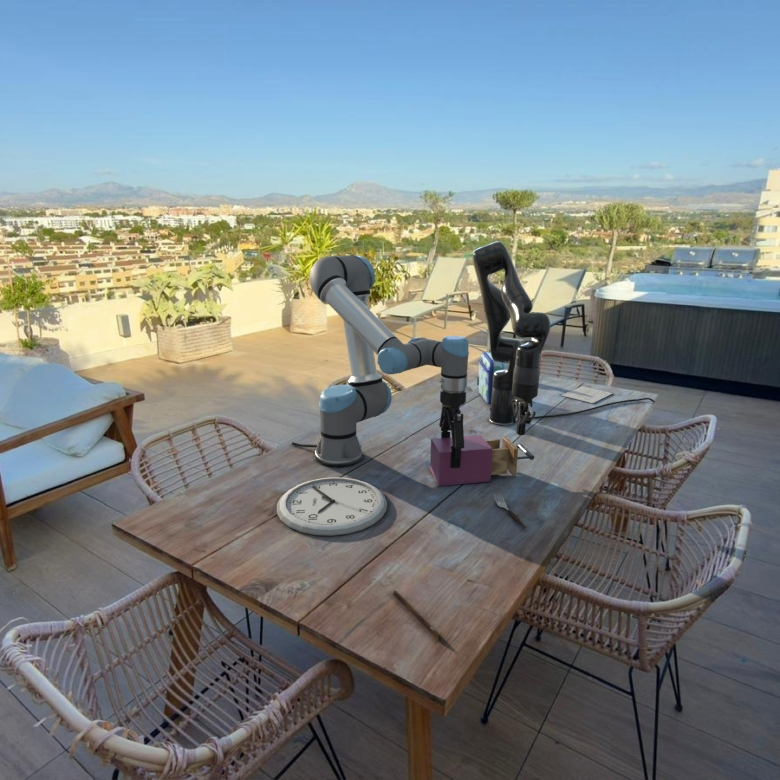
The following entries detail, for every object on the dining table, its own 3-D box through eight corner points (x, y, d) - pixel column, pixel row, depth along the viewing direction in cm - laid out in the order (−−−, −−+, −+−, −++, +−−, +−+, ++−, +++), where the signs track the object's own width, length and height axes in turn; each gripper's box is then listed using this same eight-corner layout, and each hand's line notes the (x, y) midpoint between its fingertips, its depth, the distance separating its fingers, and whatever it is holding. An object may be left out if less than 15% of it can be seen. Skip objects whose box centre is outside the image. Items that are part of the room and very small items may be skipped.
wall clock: (392, 527, 129) (268, 531, 127) (391, 533, 130) (269, 537, 127) (383, 473, 158) (282, 475, 155) (383, 478, 158) (282, 480, 156)
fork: (520, 530, 132) (521, 523, 132) (492, 499, 147) (492, 493, 146) (529, 529, 133) (530, 522, 132) (500, 498, 147) (501, 492, 147)
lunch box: (475, 390, 246) (478, 346, 240) (498, 390, 246) (501, 347, 240) (484, 408, 221) (487, 360, 215) (509, 409, 221) (513, 360, 215)
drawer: (521, 460, 168) (523, 435, 166) (533, 473, 159) (535, 447, 157) (460, 465, 165) (461, 439, 162) (469, 479, 156) (470, 452, 154)
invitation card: (582, 386, 254) (612, 393, 244) (582, 386, 255) (612, 393, 244) (561, 395, 240) (592, 402, 230) (561, 395, 240) (592, 403, 230)
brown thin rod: (392, 594, 108) (393, 590, 108) (394, 593, 109) (394, 589, 108) (438, 640, 96) (438, 636, 96) (440, 639, 97) (440, 635, 96)
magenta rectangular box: (479, 466, 167) (480, 434, 164) (490, 481, 157) (492, 448, 154) (430, 470, 164) (430, 438, 161) (439, 486, 154) (439, 452, 151)
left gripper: (431, 379, 162) (428, 444, 169) (452, 403, 140) (448, 477, 147) (454, 378, 163) (451, 443, 170) (478, 401, 142) (474, 475, 148)
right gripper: (505, 374, 160) (501, 427, 166) (523, 387, 148) (517, 443, 153) (528, 373, 162) (523, 426, 167) (547, 386, 149) (541, 442, 154)
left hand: (450, 459), depth 158 cm, fingers closed on magenta rectangular box, 11 cm apart
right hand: (520, 434), depth 160 cm, fingers closed
